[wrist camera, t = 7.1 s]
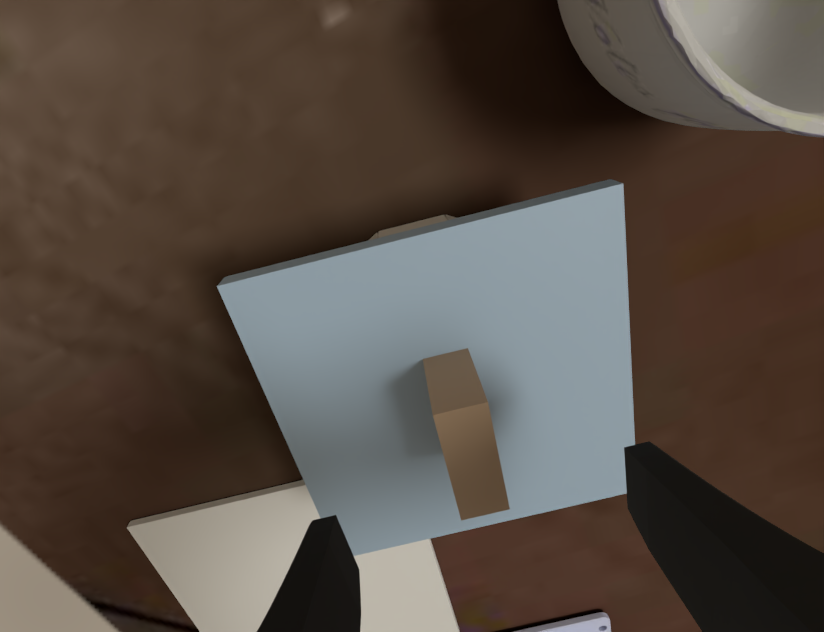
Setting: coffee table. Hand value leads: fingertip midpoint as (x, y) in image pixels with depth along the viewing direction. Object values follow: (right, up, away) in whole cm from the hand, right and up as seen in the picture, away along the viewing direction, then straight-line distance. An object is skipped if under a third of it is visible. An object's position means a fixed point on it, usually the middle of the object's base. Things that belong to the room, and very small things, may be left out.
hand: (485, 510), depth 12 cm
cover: (0, +2, +5) cm, 6 cm away
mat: (-7, -10, +14) cm, 19 cm away
